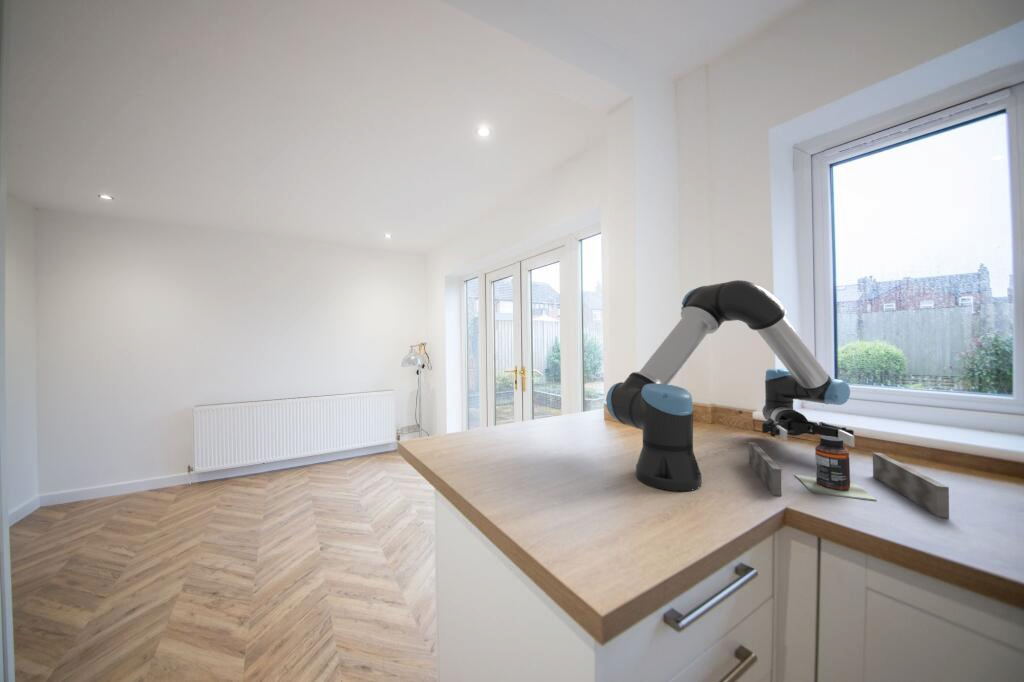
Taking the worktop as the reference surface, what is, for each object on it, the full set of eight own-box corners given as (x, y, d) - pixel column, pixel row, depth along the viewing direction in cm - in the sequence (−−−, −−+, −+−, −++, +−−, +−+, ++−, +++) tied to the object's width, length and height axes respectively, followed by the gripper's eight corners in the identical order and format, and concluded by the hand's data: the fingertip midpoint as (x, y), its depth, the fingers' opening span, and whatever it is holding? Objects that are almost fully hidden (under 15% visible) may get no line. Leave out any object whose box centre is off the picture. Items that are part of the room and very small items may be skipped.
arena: (749, 463, 98) (748, 441, 98) (881, 477, 88) (881, 453, 88) (772, 494, 78) (772, 468, 78) (949, 518, 67) (948, 487, 67)
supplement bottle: (835, 481, 85) (835, 434, 85) (857, 491, 79) (857, 441, 79) (809, 480, 85) (808, 434, 85) (829, 490, 79) (828, 441, 79)
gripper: (840, 437, 104) (883, 459, 84) (742, 429, 114) (760, 447, 94) (840, 412, 104) (882, 428, 84) (742, 406, 114) (759, 419, 94)
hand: (818, 438), depth 89 cm, fingers open, 13 cm apart
